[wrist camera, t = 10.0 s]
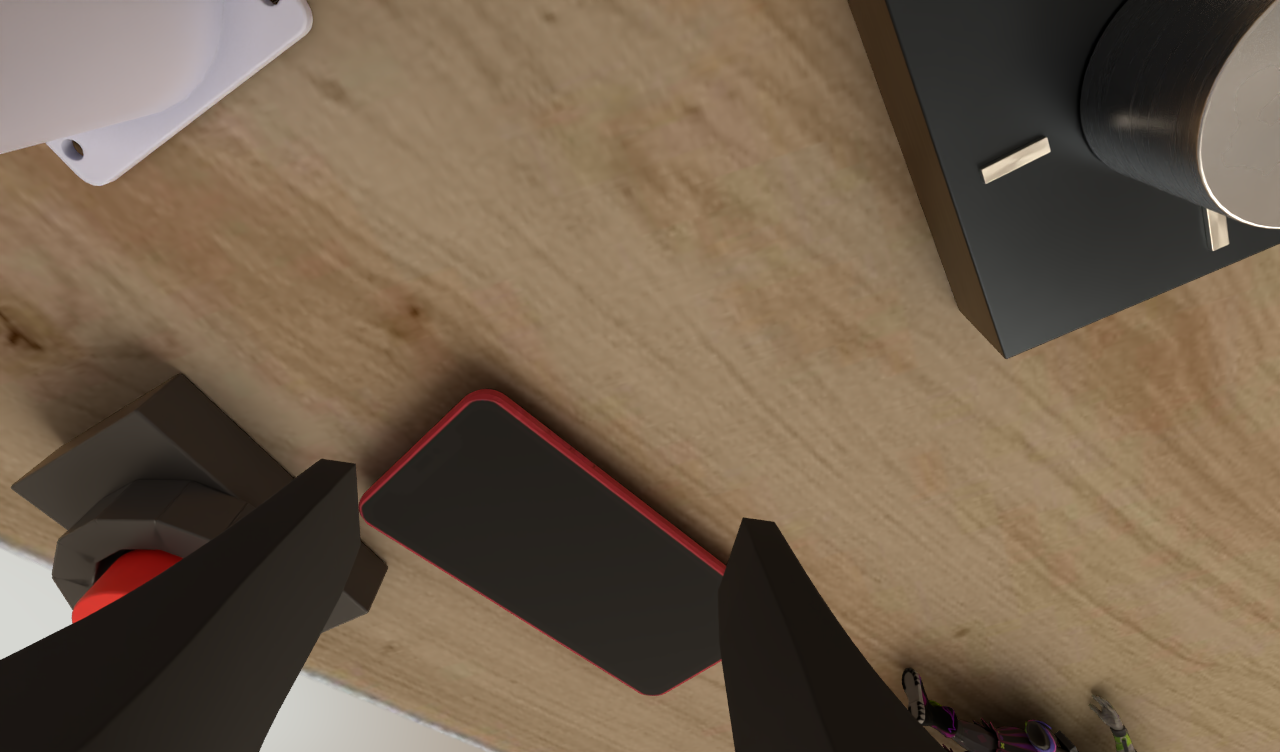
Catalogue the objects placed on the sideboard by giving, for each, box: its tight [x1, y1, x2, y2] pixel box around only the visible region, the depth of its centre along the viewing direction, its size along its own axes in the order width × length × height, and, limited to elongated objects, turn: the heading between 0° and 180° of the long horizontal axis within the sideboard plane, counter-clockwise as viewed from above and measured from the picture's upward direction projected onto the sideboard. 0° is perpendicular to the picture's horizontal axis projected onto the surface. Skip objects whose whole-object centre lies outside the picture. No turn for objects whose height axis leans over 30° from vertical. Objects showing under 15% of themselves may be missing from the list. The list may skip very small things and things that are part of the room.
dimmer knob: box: [1080, 0, 1280, 229], centre depth 12 cm, size 4×4×4 cm
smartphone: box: [359, 389, 726, 696], centre depth 24 cm, size 7×1×15 cm
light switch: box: [11, 374, 388, 633], centre depth 22 cm, size 10×6×4 cm, turn 30°
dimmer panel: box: [848, 0, 1280, 359], centre depth 15 cm, size 10×10×3 cm
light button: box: [72, 550, 183, 623], centre depth 20 cm, size 4×4×2 cm
